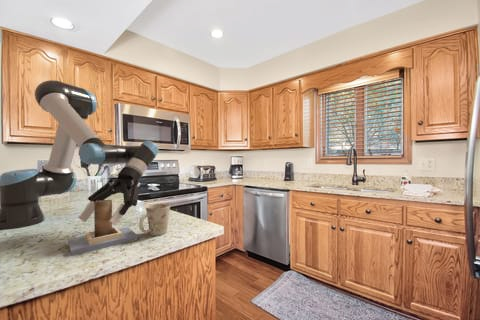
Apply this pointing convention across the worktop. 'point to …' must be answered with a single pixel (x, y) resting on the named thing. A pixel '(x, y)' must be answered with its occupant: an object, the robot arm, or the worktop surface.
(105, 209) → the post
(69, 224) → the worktop surface
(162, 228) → the mug
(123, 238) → the board
